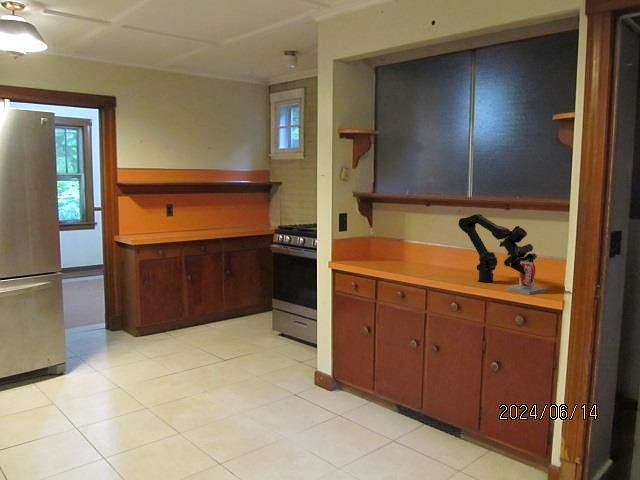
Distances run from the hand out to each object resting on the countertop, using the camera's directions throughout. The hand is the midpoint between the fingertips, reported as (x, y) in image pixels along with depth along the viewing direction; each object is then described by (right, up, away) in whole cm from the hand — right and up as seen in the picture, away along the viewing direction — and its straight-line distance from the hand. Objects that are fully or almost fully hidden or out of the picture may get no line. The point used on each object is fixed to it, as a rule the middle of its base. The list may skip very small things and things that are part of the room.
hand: (529, 273), depth 258 cm
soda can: (-1, -7, +2) cm, 7 cm away
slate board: (-1, -9, +2) cm, 9 cm away
